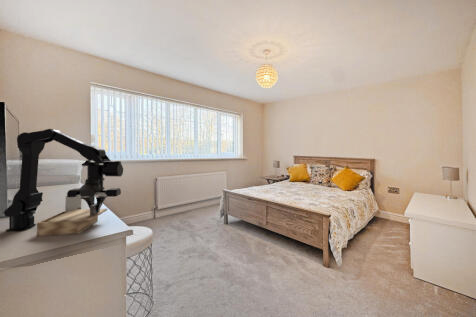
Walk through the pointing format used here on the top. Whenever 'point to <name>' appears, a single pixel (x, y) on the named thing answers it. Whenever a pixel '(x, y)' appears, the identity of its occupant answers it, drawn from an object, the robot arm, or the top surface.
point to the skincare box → (73, 203)
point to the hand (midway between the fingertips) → (95, 212)
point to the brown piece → (62, 226)
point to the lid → (79, 215)
